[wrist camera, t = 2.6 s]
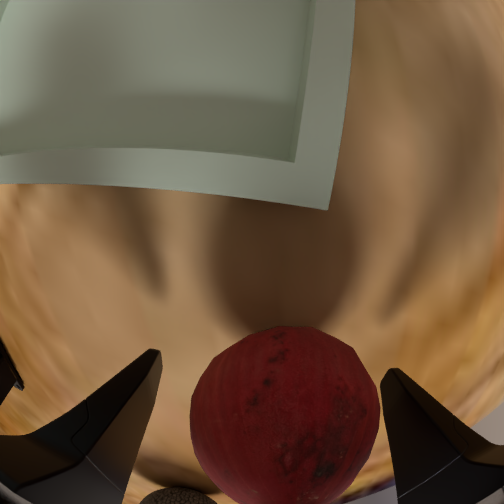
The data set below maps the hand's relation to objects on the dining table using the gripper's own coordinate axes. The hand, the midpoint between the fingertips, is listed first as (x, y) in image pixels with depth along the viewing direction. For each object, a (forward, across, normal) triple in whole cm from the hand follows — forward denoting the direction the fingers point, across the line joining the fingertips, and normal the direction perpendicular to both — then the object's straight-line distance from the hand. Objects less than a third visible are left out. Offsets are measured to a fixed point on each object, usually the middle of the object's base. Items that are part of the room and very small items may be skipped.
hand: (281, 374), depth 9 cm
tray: (+2, +8, -14) cm, 16 cm away
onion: (+2, 0, 0) cm, 2 cm away
